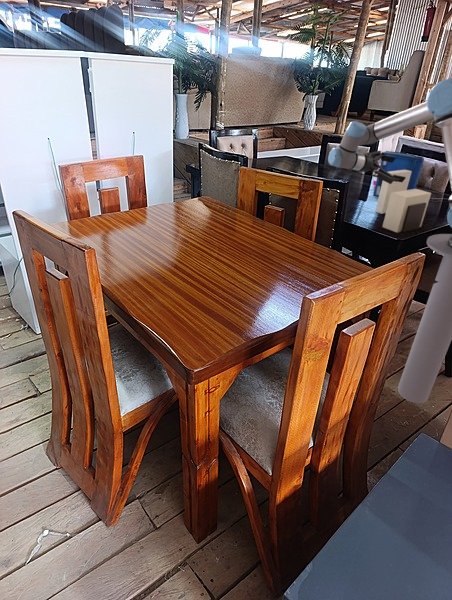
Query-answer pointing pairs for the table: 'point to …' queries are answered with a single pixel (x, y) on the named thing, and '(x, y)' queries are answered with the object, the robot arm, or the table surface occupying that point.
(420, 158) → the book
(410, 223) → the cream upright block
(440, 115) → the robot arm
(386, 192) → the cream book
